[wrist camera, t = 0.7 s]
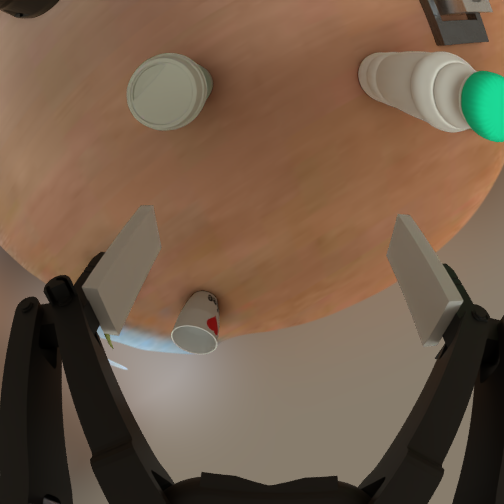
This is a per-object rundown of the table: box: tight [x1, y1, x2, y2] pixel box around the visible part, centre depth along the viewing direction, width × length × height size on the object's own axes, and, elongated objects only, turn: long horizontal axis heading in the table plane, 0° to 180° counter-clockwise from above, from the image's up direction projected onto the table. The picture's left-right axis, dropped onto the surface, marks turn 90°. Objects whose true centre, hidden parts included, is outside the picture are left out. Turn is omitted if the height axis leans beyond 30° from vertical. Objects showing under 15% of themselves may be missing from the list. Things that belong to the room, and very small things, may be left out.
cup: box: [171, 291, 219, 354], centre depth 53 cm, size 8×8×10 cm
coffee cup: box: [127, 53, 213, 131], centre depth 30 cm, size 8×9×12 cm
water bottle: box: [358, 51, 504, 142], centre depth 21 cm, size 7×7×25 cm
